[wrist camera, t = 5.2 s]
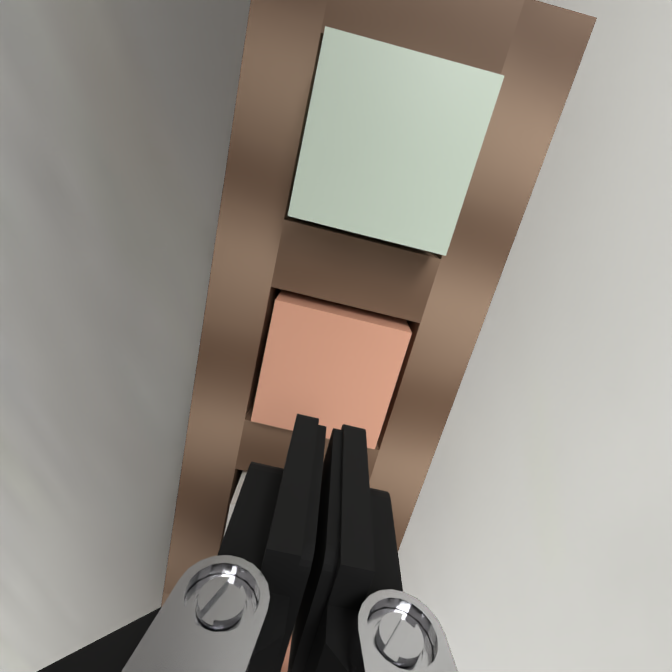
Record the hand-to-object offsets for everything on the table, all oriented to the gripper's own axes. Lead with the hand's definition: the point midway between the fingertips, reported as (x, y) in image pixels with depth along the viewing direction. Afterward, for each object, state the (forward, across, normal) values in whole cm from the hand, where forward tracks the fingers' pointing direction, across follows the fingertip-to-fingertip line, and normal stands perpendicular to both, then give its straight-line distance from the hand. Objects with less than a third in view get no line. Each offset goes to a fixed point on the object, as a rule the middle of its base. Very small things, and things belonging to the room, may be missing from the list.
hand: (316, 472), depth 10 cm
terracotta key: (+9, 0, 0) cm, 9 cm away
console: (+10, 0, +3) cm, 11 cm away
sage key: (+8, 0, -8) cm, 11 cm away
